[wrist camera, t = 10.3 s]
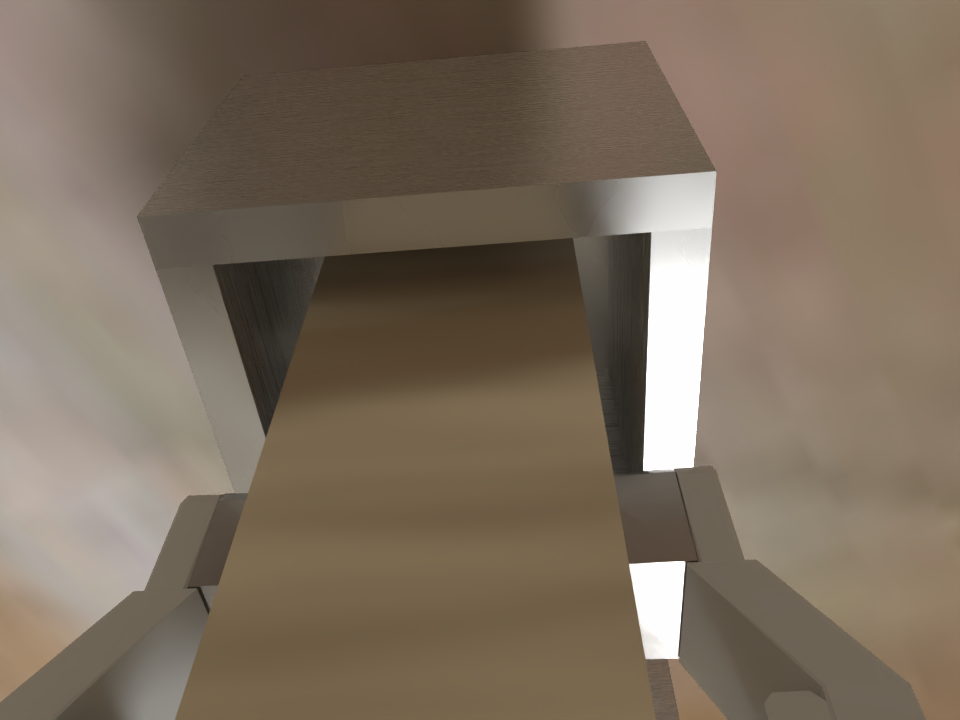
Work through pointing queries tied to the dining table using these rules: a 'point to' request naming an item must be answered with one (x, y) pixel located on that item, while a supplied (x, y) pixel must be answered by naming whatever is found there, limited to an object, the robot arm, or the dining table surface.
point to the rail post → (431, 508)
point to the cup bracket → (447, 223)
